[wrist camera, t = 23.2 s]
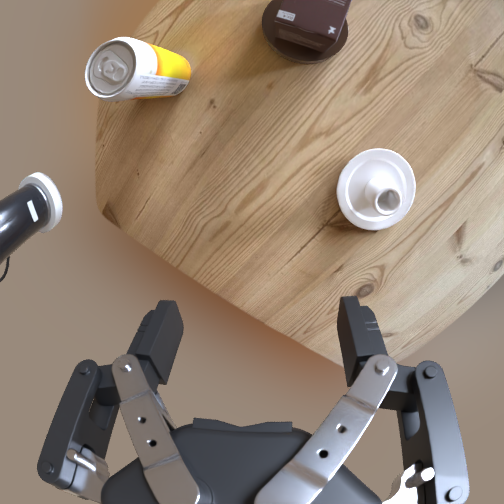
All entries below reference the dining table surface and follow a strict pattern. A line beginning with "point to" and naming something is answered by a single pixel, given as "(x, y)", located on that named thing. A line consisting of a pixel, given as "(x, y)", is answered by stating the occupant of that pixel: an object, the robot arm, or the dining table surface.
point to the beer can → (135, 71)
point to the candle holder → (376, 189)
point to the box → (311, 22)
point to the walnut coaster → (293, 49)
